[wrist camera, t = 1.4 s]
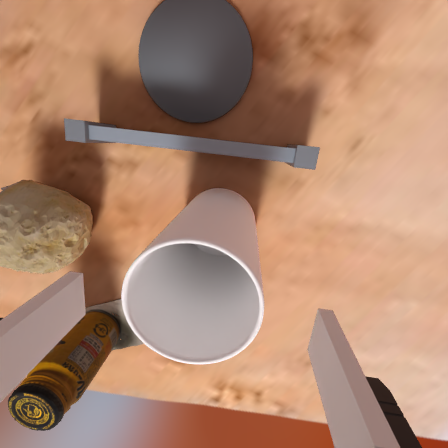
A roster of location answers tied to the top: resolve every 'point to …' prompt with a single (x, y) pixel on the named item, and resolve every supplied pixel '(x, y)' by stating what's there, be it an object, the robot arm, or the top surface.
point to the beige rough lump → (41, 227)
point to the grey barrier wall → (190, 143)
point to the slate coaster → (195, 58)
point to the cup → (199, 282)
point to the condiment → (70, 366)
